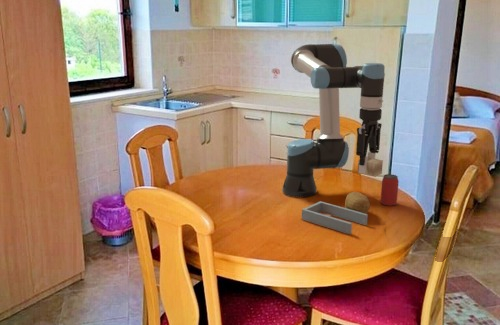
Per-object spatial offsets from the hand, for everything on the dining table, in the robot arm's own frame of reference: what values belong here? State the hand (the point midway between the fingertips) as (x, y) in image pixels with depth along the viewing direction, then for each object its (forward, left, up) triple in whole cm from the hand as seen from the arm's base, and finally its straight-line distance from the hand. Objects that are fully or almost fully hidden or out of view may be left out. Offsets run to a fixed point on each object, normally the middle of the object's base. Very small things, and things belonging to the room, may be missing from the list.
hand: (366, 171), depth 180 cm
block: (-2, 0, +2) cm, 3 cm away
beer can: (-4, +27, -21) cm, 35 cm away
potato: (-8, +8, -21) cm, 24 cm away
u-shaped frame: (-9, -5, -21) cm, 23 cm away
